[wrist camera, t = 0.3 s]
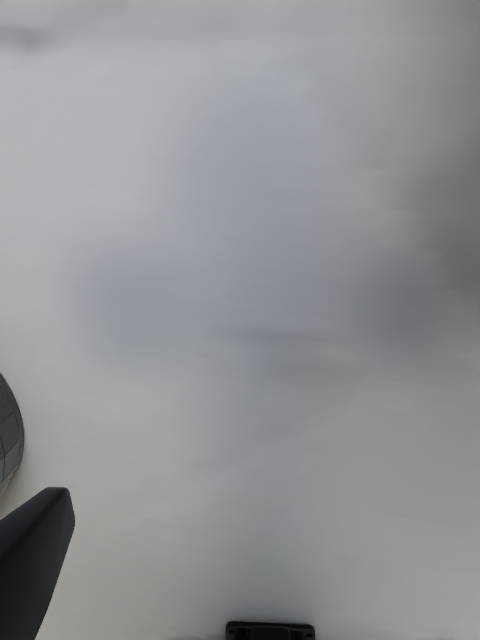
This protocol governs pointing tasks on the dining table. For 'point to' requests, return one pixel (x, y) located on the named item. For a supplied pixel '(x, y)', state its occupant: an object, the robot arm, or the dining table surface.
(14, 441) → the pan
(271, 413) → the dining table surface
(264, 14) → the dining table surface
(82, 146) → the dining table surface
